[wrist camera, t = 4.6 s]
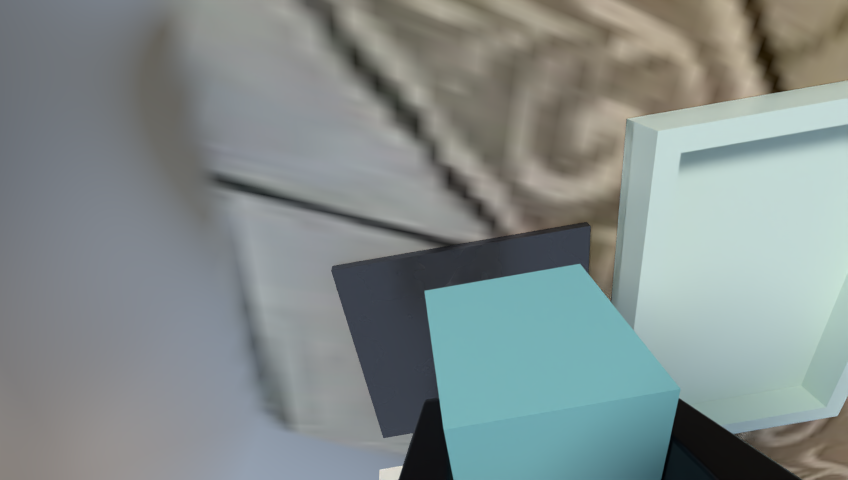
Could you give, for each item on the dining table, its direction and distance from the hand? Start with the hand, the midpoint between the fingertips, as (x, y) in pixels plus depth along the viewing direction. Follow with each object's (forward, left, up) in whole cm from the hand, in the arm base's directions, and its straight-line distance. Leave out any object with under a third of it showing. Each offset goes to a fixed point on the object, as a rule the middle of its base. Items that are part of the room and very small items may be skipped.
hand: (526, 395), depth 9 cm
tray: (-7, -14, -10) cm, 19 cm away
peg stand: (-8, 0, -10) cm, 13 cm away
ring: (-5, 0, -1) cm, 5 cm away
